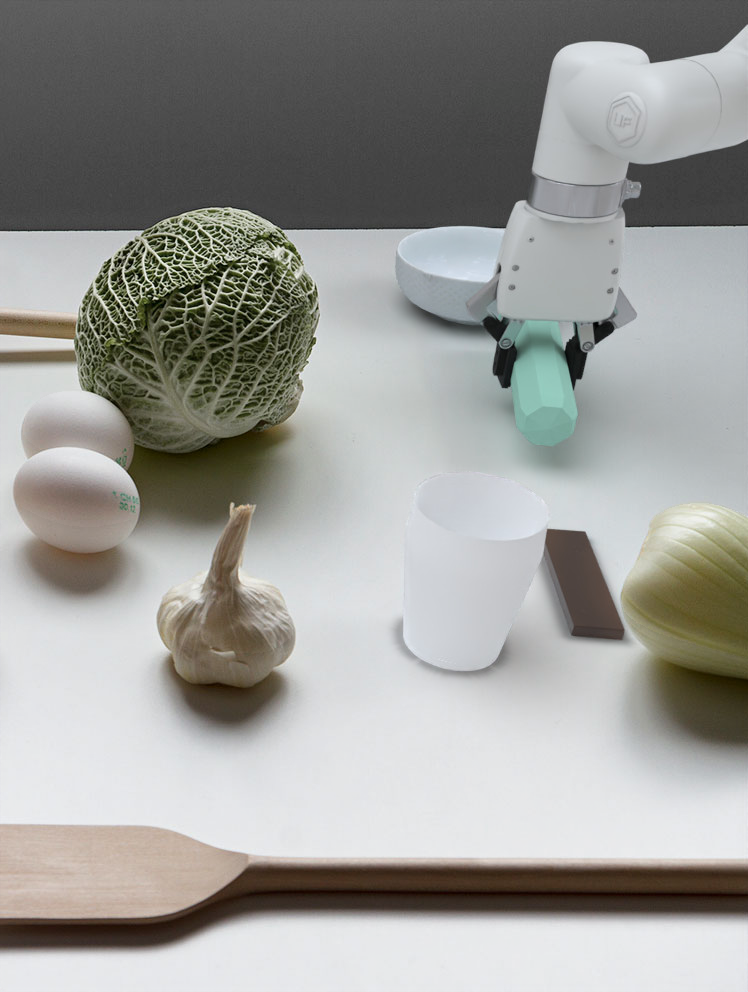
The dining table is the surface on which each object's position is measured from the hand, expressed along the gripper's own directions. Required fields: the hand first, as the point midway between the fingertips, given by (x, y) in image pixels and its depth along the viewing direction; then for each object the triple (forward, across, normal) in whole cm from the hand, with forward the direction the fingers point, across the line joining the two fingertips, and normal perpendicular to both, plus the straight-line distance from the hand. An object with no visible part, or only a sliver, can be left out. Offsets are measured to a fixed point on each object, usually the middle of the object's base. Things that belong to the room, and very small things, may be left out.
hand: (534, 381), depth 121 cm
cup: (+4, +12, +37) cm, 39 cm away
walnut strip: (+4, +2, +29) cm, 29 cm away
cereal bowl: (+3, +2, -23) cm, 24 cm away
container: (+1, 0, 0) cm, 1 cm away
